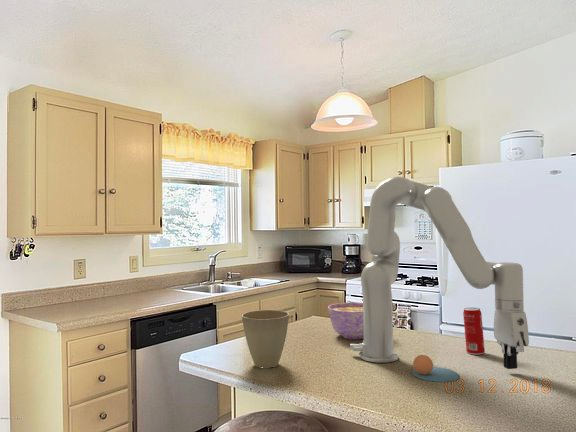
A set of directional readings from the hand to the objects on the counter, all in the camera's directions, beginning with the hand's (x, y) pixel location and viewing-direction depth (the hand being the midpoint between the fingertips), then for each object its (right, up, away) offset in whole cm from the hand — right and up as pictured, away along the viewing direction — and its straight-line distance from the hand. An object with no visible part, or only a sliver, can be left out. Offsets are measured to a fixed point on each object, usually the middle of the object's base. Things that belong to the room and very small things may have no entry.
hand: (510, 367), depth 132 cm
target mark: (-22, -2, 0) cm, 22 cm away
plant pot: (-72, -3, +10) cm, 73 cm away
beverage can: (-2, -2, +21) cm, 21 cm away
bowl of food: (-39, -3, +45) cm, 60 cm away
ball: (-26, +1, -1) cm, 26 cm away
